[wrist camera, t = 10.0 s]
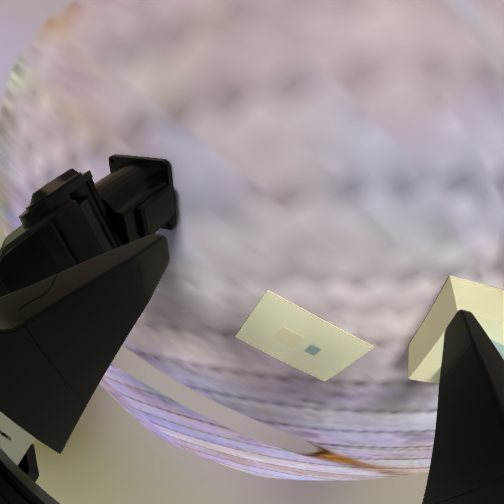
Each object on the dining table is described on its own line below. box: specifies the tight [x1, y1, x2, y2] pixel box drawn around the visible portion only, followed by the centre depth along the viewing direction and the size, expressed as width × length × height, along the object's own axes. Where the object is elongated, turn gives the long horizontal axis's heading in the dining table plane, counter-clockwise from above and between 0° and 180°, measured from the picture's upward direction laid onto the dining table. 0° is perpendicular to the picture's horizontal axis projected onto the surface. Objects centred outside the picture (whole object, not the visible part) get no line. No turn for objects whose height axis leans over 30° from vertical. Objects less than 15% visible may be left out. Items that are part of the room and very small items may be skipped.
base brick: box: [408, 275, 504, 384], centre depth 20 cm, size 9×9×4 cm
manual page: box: [235, 290, 374, 382], centre depth 30 cm, size 12×9×1 cm
